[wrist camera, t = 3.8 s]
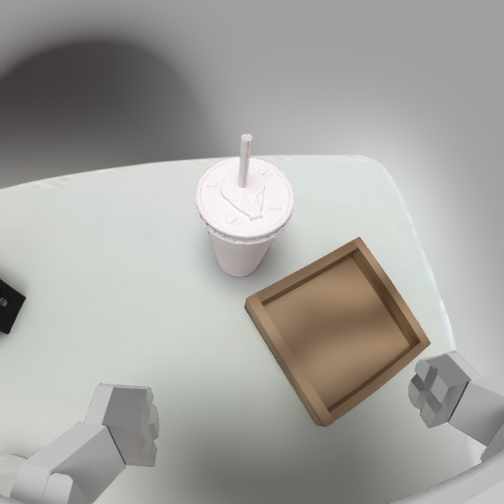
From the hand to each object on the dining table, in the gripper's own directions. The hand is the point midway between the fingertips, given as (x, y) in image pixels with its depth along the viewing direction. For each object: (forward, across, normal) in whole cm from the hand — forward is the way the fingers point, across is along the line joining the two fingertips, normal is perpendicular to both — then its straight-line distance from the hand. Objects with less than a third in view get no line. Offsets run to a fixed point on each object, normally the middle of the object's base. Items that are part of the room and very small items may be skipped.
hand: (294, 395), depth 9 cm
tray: (+15, -8, +8) cm, 19 cm away
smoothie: (+21, 0, +3) cm, 21 cm away
